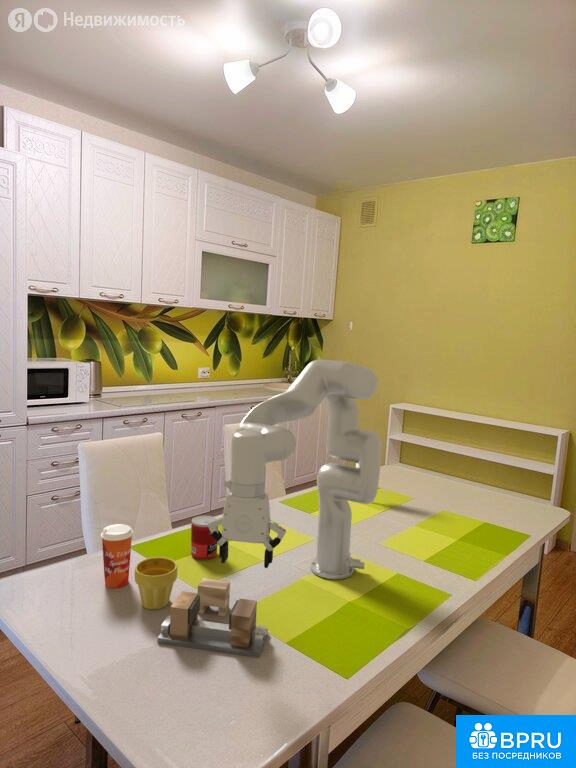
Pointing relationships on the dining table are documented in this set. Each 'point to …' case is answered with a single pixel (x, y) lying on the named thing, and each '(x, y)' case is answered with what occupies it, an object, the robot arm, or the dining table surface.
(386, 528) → the dining table surface
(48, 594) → the dining table surface
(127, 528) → the coffee cup
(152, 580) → the plant pot
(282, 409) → the robot arm
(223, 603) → the tan notched block
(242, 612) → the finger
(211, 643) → the rail
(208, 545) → the canned food
